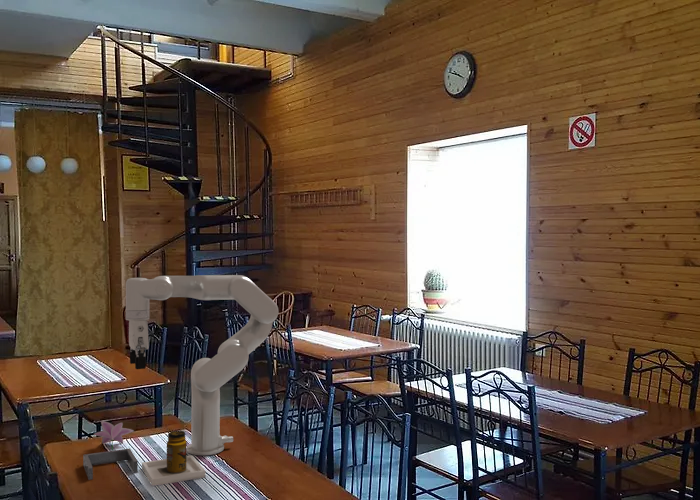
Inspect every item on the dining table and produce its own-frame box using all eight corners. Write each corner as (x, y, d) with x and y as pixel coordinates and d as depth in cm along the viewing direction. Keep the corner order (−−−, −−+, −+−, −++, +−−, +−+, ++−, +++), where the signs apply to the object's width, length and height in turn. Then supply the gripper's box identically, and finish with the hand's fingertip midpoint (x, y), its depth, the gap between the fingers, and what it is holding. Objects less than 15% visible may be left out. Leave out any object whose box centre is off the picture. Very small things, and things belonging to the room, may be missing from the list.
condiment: (190, 472, 209) (190, 433, 208) (163, 477, 204) (163, 438, 204) (183, 465, 215) (183, 427, 215) (156, 469, 210) (156, 431, 210)
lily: (138, 448, 236) (136, 421, 240) (119, 444, 226) (117, 416, 230) (107, 456, 238) (106, 429, 242) (87, 453, 227) (86, 425, 231)
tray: (192, 461, 220) (192, 455, 220) (205, 477, 206) (205, 470, 206) (142, 468, 213) (142, 462, 213) (152, 486, 199) (152, 479, 199)
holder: (129, 458, 222) (129, 448, 222) (137, 472, 210) (137, 461, 210) (83, 465, 215) (83, 454, 215) (88, 479, 203) (88, 468, 203)
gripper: (154, 317, 217) (154, 370, 218) (144, 311, 233) (144, 360, 233) (130, 318, 214) (130, 372, 214) (121, 312, 229) (121, 362, 230)
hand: (137, 366), depth 224 cm, fingers open, 9 cm apart
